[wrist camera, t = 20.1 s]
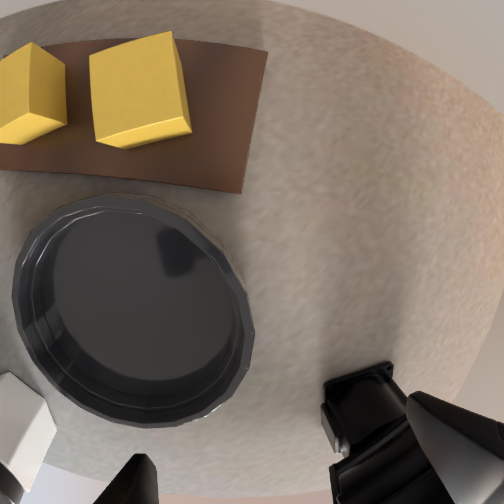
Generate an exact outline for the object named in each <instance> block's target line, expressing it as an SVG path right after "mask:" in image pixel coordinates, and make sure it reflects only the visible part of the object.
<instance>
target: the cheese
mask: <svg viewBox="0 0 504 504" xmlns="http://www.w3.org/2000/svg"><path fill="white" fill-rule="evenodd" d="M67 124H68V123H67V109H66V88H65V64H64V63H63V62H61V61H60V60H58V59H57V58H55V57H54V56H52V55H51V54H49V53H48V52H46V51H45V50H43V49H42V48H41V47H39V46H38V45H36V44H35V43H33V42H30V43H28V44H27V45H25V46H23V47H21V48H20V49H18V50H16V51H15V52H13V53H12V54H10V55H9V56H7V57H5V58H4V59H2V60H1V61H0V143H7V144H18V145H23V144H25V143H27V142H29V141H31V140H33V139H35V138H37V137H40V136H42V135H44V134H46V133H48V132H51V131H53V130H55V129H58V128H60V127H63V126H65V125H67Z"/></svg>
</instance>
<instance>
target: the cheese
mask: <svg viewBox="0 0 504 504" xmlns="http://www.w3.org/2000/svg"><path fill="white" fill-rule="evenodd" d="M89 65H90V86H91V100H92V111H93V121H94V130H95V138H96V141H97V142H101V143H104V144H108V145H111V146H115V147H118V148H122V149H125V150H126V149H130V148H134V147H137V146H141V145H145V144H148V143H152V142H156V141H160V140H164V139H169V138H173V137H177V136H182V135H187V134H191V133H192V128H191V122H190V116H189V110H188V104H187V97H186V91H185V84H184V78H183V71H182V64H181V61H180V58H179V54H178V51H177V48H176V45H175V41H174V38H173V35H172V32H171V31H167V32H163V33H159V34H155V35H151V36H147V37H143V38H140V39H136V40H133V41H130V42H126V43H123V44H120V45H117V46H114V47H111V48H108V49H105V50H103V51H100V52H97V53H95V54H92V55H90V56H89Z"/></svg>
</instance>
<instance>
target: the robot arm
mask: <svg viewBox="0 0 504 504" xmlns="http://www.w3.org/2000/svg"><path fill="white" fill-rule="evenodd" d="M388 366H389V367H388ZM387 367H388V368H387ZM393 368H394V365H393V364H392V363H391V362H390V361H388V362H385V363H382V364H379V365H377V366H374V367H371V368H368V369H365V370H362V371H359V372H356V373H353V374H350V375H347V376H344V377H341V378H338V379H334V380H331V381H328V382H326V383H325V384H324V386H323V392H324V403H322V405H321V423H322V425H323V428H324V430H325V432H326V435H327V437H328V439H329V441H330V444H331V446H332V448H333V451H334V453H337V454H339V453H342V454H343V456H344V459H342V460H341V461H339V462H338V463H334V464H333V465H331V466H330V467H329V472H330V482H331V489H332V496H333V504H504V423H502V422H499V421H495V420H493V419H490V418H487V417H485V416H482V415H479V414H477V413H474V412H471V411H469V410H466V409H464V408H461V407H458V406H456V405H453V404H451V403H448V402H446V401H443V400H441V399H438V398H436V397H434V396H431V395H429V394H426V393H424V392H422V391H416V392H414V393H412V394H410V395H409V396H408V397H407V396H406V395H405V394H404V393H403V391H402V390H401V389H400V388H399V386H398V385H397V384H396V383H395V382H394V380H393V379H392V376H393ZM330 386H331V387H330ZM328 387H329V388H328ZM93 504H159V498H158V483H157V470H156V467H155V465H154V464H153V462H152V461H151V460H150V458H149V457H148V456H147V455H146V454H134V455H133V456H132V457H131V458H130V460H129V461H128V462H127V463H126V464H125V466H124V467H123V468H122V469H121V471H120V472H119V473H118V474H117V475H116V477H115V478H114V479H113V480H112V481H111V483H110V484H109V485H108V486H107V487H106V489H105V490H104V491H103V492H102V493H101V495H100V496H99V497H98V498H97V499H96V501H95V502H94V503H93Z"/></svg>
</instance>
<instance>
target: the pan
mask: <svg viewBox="0 0 504 504" xmlns="http://www.w3.org/2000/svg"><path fill="white" fill-rule="evenodd" d="M12 301H13V308H14V313H15V318H16V324H17V328H18V332H19V334H20V336H21V338H22V341H23V343H24V345H25V347H26V349H27V351H28V353H29V355H30V357H31V359H32V361H33V362H34V363H35V365H36V366H37V367H38V369H39V370H40V371H41V372H42V373H43V375H44V376H45V377H46V378H47V380H48V381H49V382H50V383H51V384H52V385H53V387H55V389H57V390H58V391H59V392H60V393H62V394H63V395H64V396H65V397H67V398H68V399H69V400H71V401H72V402H73V403H75V404H76V405H77V406H79V407H80V408H82V409H84V410H86V411H88V412H90V413H92V414H94V415H97V416H99V417H101V418H103V419H106V420H108V421H110V422H113V423H117V424H122V425H127V426H132V427H138V428H144V429H148V428H166V427H177V426H180V425H183V424H186V423H189V422H192V421H195V420H197V419H200V418H203V417H205V416H207V415H209V414H210V413H211V412H213V411H214V410H215V409H217V408H218V407H219V406H220V405H222V404H223V403H224V402H226V401H227V400H228V399H229V398H231V396H232V395H233V394H234V392H235V391H236V389H237V387H238V386H239V384H240V383H241V381H242V379H243V378H244V376H245V374H246V373H247V371H248V369H249V366H250V360H251V355H252V349H253V343H254V337H255V330H254V325H253V320H252V315H251V310H250V305H249V299H248V294H247V291H246V287H245V283H244V280H243V277H242V275H241V273H240V271H239V270H238V268H237V266H236V264H235V263H234V261H233V259H232V258H231V256H230V254H229V252H228V251H227V249H226V247H225V245H224V244H223V243H222V241H221V240H220V239H219V238H218V237H216V236H215V235H214V234H213V233H212V232H211V231H210V230H209V229H208V228H207V227H205V226H204V225H203V224H202V223H201V222H200V221H199V220H198V219H197V218H195V217H194V216H193V215H192V214H190V213H189V212H187V211H185V210H183V209H180V208H178V207H176V206H174V205H171V204H169V203H167V202H165V201H163V200H160V199H158V198H156V197H154V196H148V195H137V194H125V193H108V194H102V195H96V196H92V197H89V198H86V199H83V200H79V201H76V202H73V203H70V204H67V205H64V206H61V207H59V208H57V209H56V210H55V211H54V212H52V213H51V214H50V215H49V216H48V217H47V218H45V219H44V220H43V221H42V222H41V223H40V224H39V225H37V226H36V227H35V228H34V229H33V230H32V231H31V232H30V234H29V236H28V238H27V240H26V242H25V244H24V246H23V248H22V250H21V252H20V254H19V256H18V258H17V260H16V263H15V271H14V278H13V287H12Z"/></svg>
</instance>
